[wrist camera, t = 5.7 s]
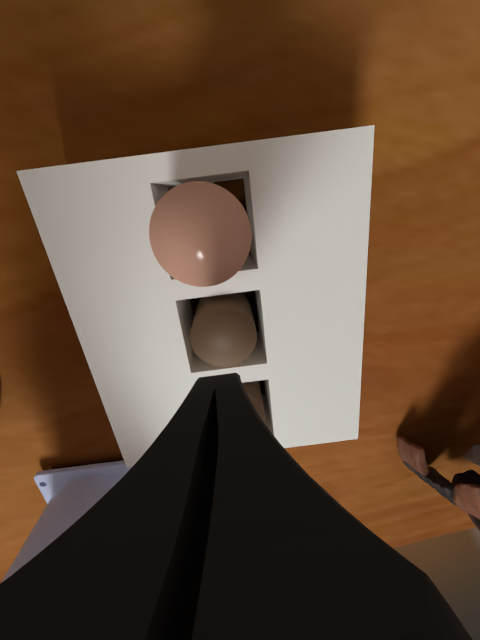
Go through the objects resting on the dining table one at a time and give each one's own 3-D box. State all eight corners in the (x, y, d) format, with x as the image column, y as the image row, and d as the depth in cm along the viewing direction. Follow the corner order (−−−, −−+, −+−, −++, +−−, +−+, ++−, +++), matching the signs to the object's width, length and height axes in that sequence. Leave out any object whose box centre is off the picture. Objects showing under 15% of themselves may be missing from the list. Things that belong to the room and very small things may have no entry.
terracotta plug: (248, 260, 13) (256, 280, 10) (178, 268, 13) (161, 292, 10) (240, 182, 12) (246, 174, 8) (163, 192, 12) (137, 188, 8)
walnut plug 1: (253, 331, 18) (260, 362, 14) (202, 337, 18) (196, 370, 14) (247, 281, 17) (253, 302, 13) (192, 288, 17) (184, 311, 13)
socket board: (334, 396, 21) (357, 438, 17) (144, 421, 21) (126, 467, 17) (337, 144, 15) (374, 125, 11) (68, 179, 15) (16, 171, 11)
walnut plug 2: (260, 396, 20) (267, 438, 16) (214, 402, 20) (211, 445, 16) (255, 356, 18) (262, 392, 15) (206, 362, 18) (202, 399, 15)
